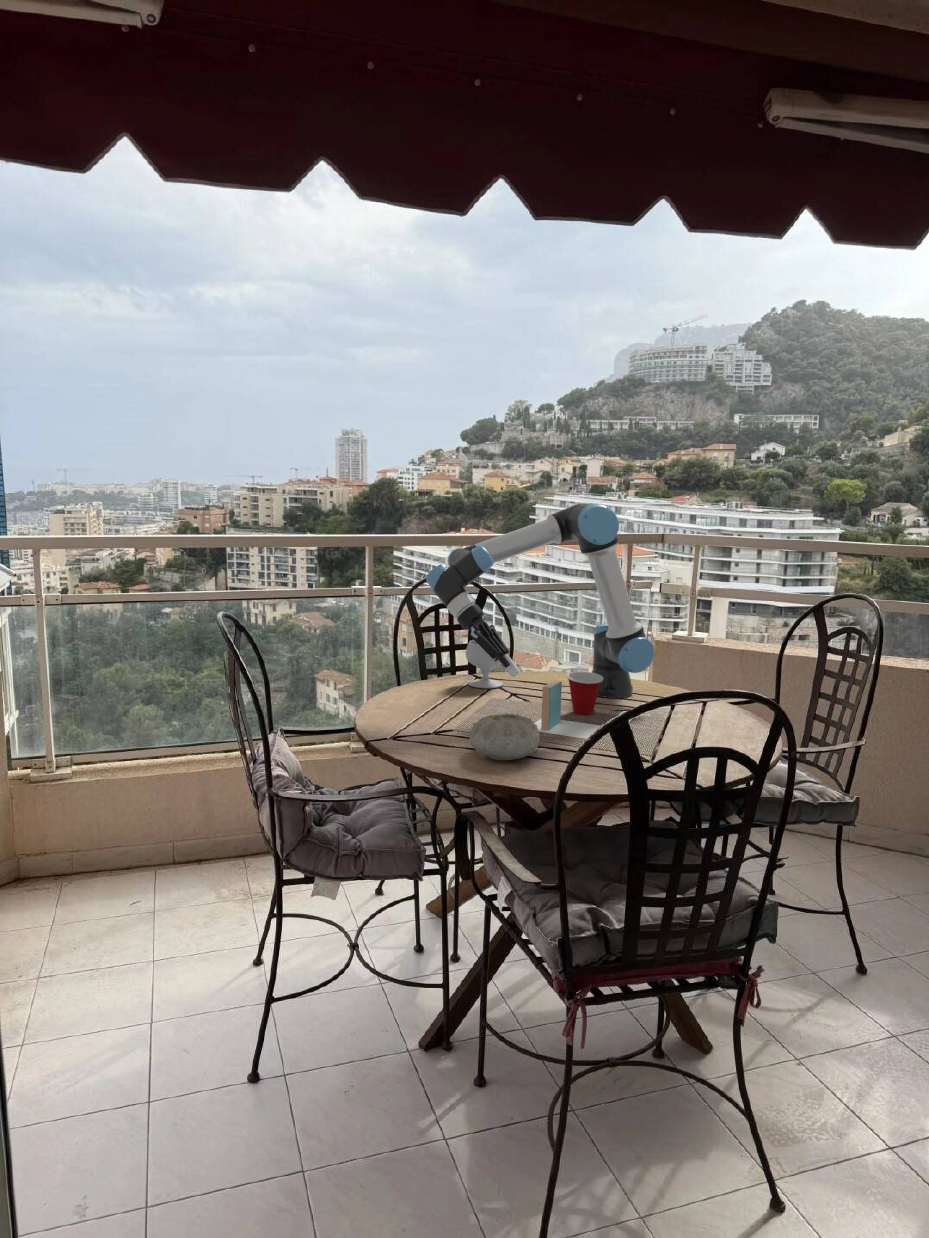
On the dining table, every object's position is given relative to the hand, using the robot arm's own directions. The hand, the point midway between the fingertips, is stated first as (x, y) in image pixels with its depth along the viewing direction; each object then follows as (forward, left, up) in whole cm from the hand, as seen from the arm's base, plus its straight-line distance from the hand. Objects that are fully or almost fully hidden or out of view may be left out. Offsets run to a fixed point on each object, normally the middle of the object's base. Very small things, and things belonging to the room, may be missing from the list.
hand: (516, 674), depth 231 cm
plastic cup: (+3, +23, -14) cm, 27 cm away
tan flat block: (+9, +6, -14) cm, 17 cm away
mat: (+13, +8, -14) cm, 21 cm away
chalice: (-42, +19, -14) cm, 48 cm away
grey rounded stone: (+21, -20, -15) cm, 32 cm away
